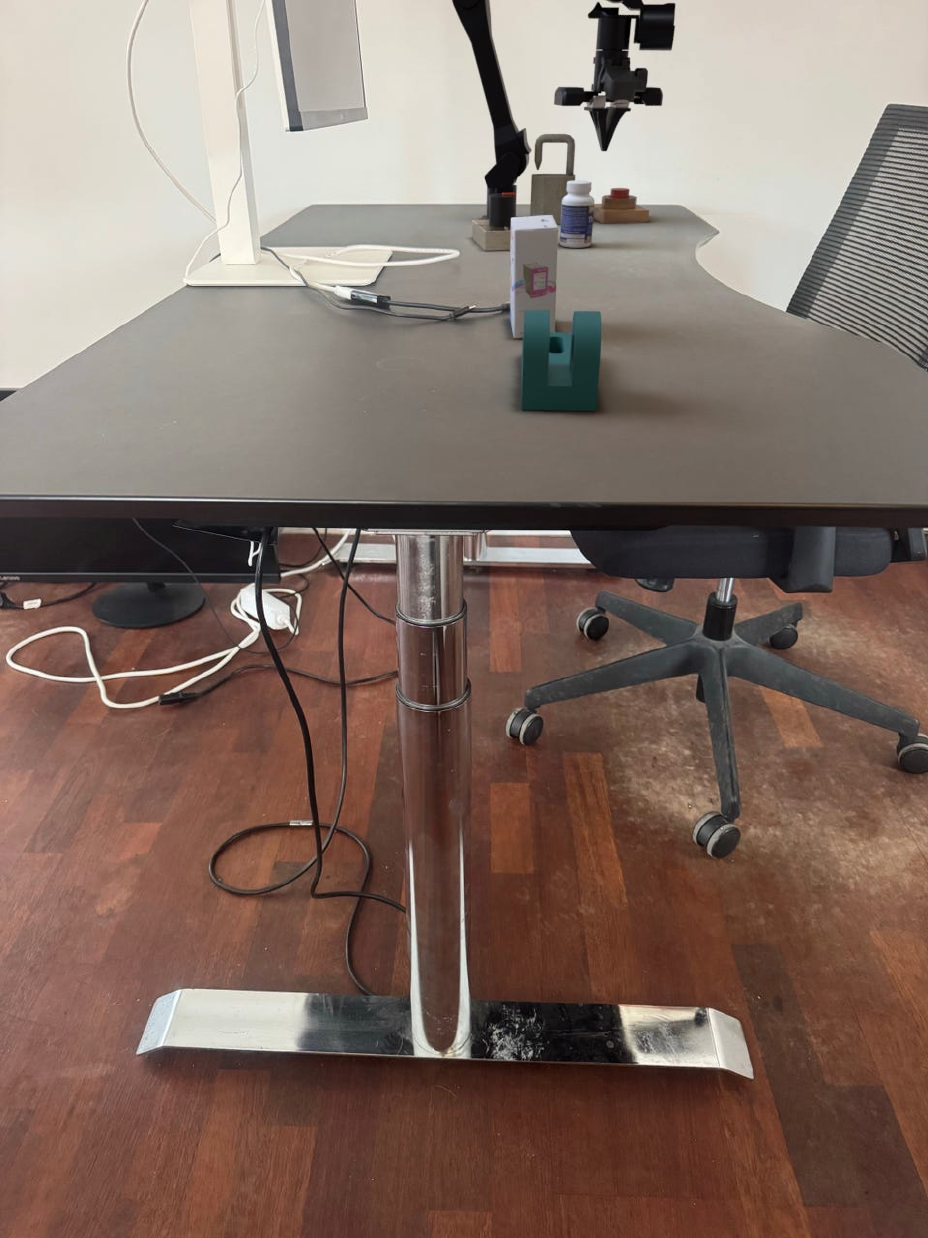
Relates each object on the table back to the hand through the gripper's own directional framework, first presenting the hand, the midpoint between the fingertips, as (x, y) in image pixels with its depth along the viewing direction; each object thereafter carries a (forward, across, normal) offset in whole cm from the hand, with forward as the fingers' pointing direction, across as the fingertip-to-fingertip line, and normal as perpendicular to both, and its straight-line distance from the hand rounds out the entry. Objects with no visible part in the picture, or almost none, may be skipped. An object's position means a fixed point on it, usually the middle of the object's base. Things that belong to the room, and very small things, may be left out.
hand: (603, 150), depth 161 cm
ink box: (+12, -32, -73) cm, 80 cm away
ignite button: (+9, +5, +4) cm, 11 cm away
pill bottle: (+12, -11, -22) cm, 28 cm away
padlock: (+12, -9, +2) cm, 15 cm away
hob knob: (+9, -23, -18) cm, 31 cm away
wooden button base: (+12, +5, +4) cm, 14 cm away
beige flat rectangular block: (+12, -22, -18) cm, 31 cm away
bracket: (+12, -35, -92) cm, 99 cm away
